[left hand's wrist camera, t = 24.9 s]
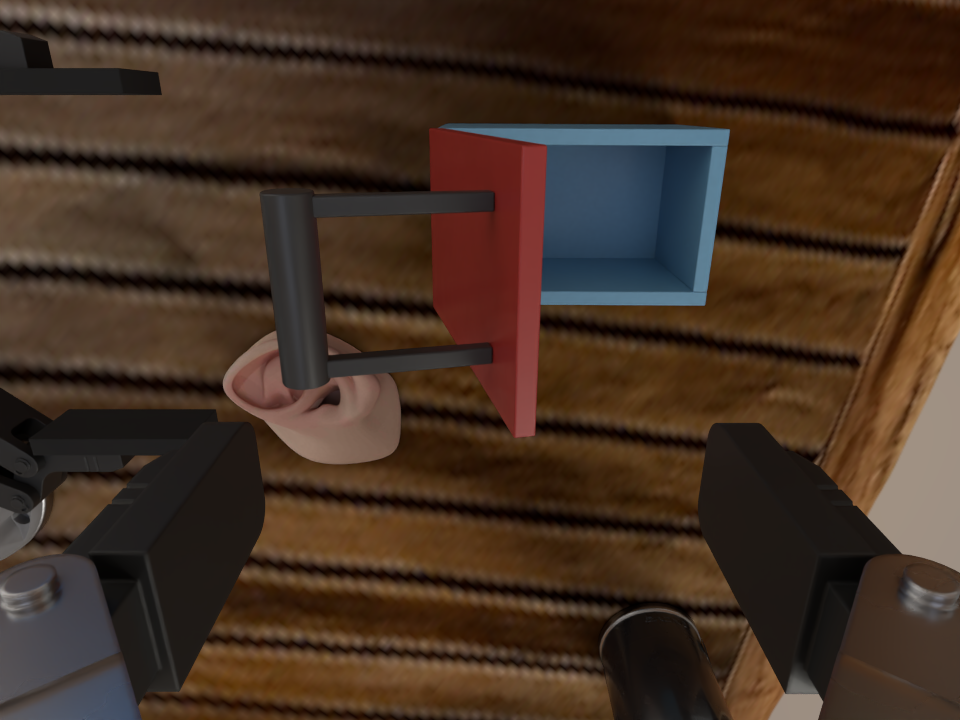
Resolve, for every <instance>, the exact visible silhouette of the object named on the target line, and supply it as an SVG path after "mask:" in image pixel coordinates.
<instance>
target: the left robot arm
mask: <svg viewBox="0 0 960 720" xmlns="http://www.w3.org/2000/svg"><path fill="white" fill-rule="evenodd" d="M698 515H699V522H700V527H701V531H702V534H703V536H704V538H705V540H706V542H707V544H708V546H709V548H710V550H711V552H712V553H713V555H714V557H715V559H716V561H717V563H718V565H719V567H720V569H721V571H722V573H723V575H724V577H725V578H726V580H727V582H728V584H729V586H730V588H731V590H732V592H733V594H734V596H735V598H736V600H737V601H738V603H739V605H740V607H741V609H742V611H743V613H744V615H745V617H746V619H747V621H748V623H749V625H750V626H751V628H752V630H753V632H754V634H755V636H756V638H757V640H758V642H759V644H760V646H761V648H762V649H763V651H764V653H765V655H766V657H767V659H768V661H769V663H770V665H771V667H772V669H773V671H774V672H775V674H776V676H777V678H778V680H779V682H780V684H781V686H782V688H783V690H784V692H785V694H819V695H820V697H821V698H822V700H823V705H822V708H821V712H820V715H819V719H818V720H960V573H959V572H957V571H955V570H953V569H951V568H949V567H947V566H945V565H942V564H940V563H937V562H934V561H931V560H928V559H925V558H921V557H916V556H912V555H904V554H902V553H901V552H900V551H899V550H898V549H897V548H896V547H895V546H894V545H893V544H892V543H891V542H890V541H889V540H888V539H887V538H886V536H885V535H884V534H883V533H882V532H881V531H880V530H879V529H878V528H877V527H876V526H875V525H874V524H873V523H872V522H871V521H870V520H869V519H868V517H867V516H866V515H865V514H864V513H863V512H862V511H861V510H860V509H859V508H858V507H857V506H853V502H852V501H851V499H850V498H849V497H848V496H847V495H846V494H845V493H844V492H843V491H842V490H838V486H837V485H836V484H835V483H834V481H833V480H832V479H831V478H830V477H829V476H828V475H827V474H826V473H825V472H824V471H823V470H822V469H821V468H820V467H819V466H817V465H815V464H814V463H812V462H810V461H809V460H807V459H805V458H804V457H802V456H800V455H798V454H797V453H795V452H793V451H785V450H784V449H783V448H782V447H781V446H780V444H779V443H778V442H777V441H776V440H775V439H774V438H773V436H772V435H771V434H770V433H769V432H768V431H767V430H766V429H765V427H764V426H763V425H761V424H759V423H715V424H713V425H712V427H711V429H710V431H709V434H708V440H707V446H706V453H705V460H704V466H703V473H702V480H701V486H700V493H699V500H698ZM264 516H265V496H264V490H263V483H262V476H261V469H260V463H259V456H258V449H257V442H256V436H255V432H254V429H253V427H252V425H251V424H250V423H249V422H204V423H202V424H201V425H200V426H199V427H198V429H197V430H196V431H195V432H194V433H193V434H192V435H191V437H190V438H189V439H188V440H187V441H186V442H185V443H184V444H183V446H182V447H181V448H180V449H179V450H170V451H169V452H167V453H165V454H164V455H162V456H160V457H159V458H157V459H155V460H153V461H152V462H150V463H148V464H147V465H145V466H144V467H143V468H142V469H141V470H140V471H139V472H138V473H137V474H136V475H135V476H134V477H133V478H132V480H131V481H130V482H129V483H128V484H127V488H123V489H122V490H121V491H120V492H119V493H118V494H117V496H116V497H115V498H114V499H113V500H112V504H108V505H107V506H106V507H105V508H104V509H103V510H102V512H101V513H100V514H99V515H98V516H97V517H96V518H95V519H94V520H93V521H92V522H91V523H90V524H89V525H88V527H87V528H86V529H85V530H84V531H83V532H82V533H81V534H80V535H79V536H78V537H77V538H76V539H75V540H74V541H73V543H72V544H71V545H70V546H69V547H68V548H67V549H66V550H65V551H64V552H63V553H62V554H56V555H48V556H44V557H39V558H35V559H32V560H29V561H26V562H23V563H20V564H18V565H15V566H13V567H11V568H9V569H7V570H5V571H3V572H1V573H0V720H142V719H141V715H140V712H139V708H138V705H139V704H140V702H141V700H142V698H143V697H144V695H145V693H146V692H179V691H180V689H181V687H182V685H183V683H184V681H185V679H186V677H187V676H188V674H189V672H190V670H191V668H192V666H193V664H194V662H195V660H196V658H197V656H198V654H199V652H200V650H201V648H202V646H203V644H204V643H205V641H206V639H207V637H208V635H209V633H210V631H211V629H212V627H213V625H214V623H215V621H216V619H217V617H218V615H219V613H220V611H221V609H222V608H223V606H224V604H225V602H226V600H227V598H228V596H229V594H230V592H231V590H232V588H233V586H234V584H235V582H236V580H237V578H238V576H239V575H240V573H241V571H242V569H243V567H244V565H245V563H246V561H247V559H248V557H249V555H250V553H251V551H252V549H253V547H254V545H255V543H256V541H257V540H258V538H259V536H260V533H261V530H262V527H263V523H264ZM701 639H702V638H701ZM701 639H700V635H699V633H698V630H697V628H696V626H695V624H694V622H693V620H692V619H691V618H690V617H689V616H688V615H687V614H686V613H685V612H683V611H682V610H680V609H678V608H676V607H674V606H671V605H668V604H663V603H643V604H638V605H634V606H631V607H628V608H626V609H624V610H622V611H620V612H619V613H617V614H616V615H614V616H613V617H612V618H611V619H610V620H609V621H608V622H607V623H606V624H605V626H604V627H603V629H602V631H601V633H600V636H599V641H598V648H599V653H600V657H601V661H602V664H603V666H604V674H605V679H606V684H607V688H608V693H609V697H610V702H611V706H612V711H613V715H614V720H733V718H732V716H731V713H730V711H729V708H728V706H727V704H726V701H725V699H724V696H723V694H722V692H721V689H720V687H719V684H718V682H717V679H716V677H715V675H714V672H713V670H712V667H711V663H709V662H710V660H709V657H708V654H707V651H706V648H705V645H704V643H703V645H704V648H705V650H704V648H703V646H702V643H701ZM702 642H703V640H702ZM705 651H706V653H705ZM706 654H707V655H706Z"/></svg>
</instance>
